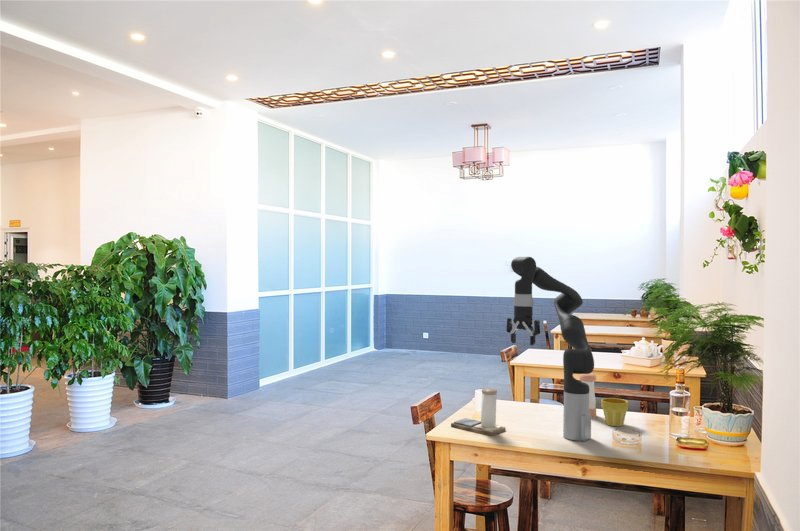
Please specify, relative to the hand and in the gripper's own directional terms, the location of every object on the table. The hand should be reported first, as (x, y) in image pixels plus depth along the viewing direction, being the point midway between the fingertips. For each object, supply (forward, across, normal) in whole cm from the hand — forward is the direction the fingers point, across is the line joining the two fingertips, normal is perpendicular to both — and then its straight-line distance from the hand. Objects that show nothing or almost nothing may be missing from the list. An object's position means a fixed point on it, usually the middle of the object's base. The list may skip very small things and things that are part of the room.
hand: (522, 344), depth 240 cm
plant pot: (+32, +30, +22) cm, 49 cm away
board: (+32, -8, -21) cm, 39 cm away
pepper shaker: (+32, +16, +28) cm, 46 cm away
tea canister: (+30, -3, -21) cm, 37 cm away
